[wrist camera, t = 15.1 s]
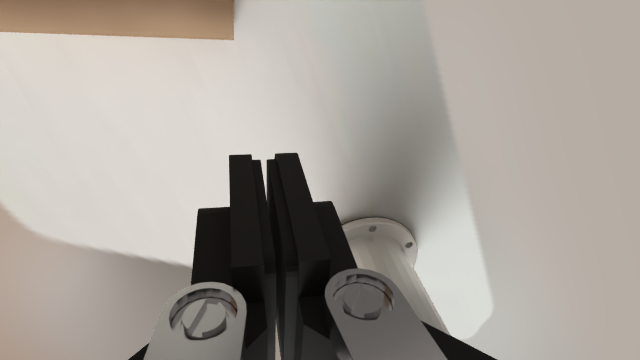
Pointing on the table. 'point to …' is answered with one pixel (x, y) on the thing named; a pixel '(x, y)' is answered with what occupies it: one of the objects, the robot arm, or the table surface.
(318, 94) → the table surface
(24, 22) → the walnut board
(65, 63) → the table surface
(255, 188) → the robot arm
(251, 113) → the table surface
